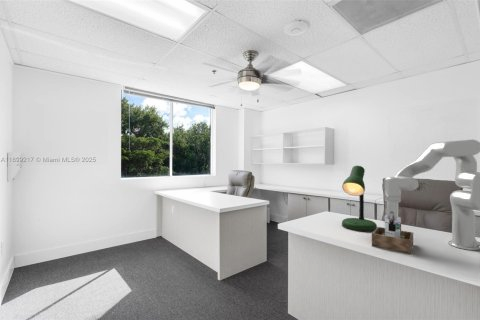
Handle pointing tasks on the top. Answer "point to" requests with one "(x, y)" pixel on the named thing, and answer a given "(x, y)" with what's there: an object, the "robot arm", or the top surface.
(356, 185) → the desk lamp
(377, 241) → the walled box
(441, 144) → the robot arm
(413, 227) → the top surface
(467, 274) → the top surface
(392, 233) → the syrup box
